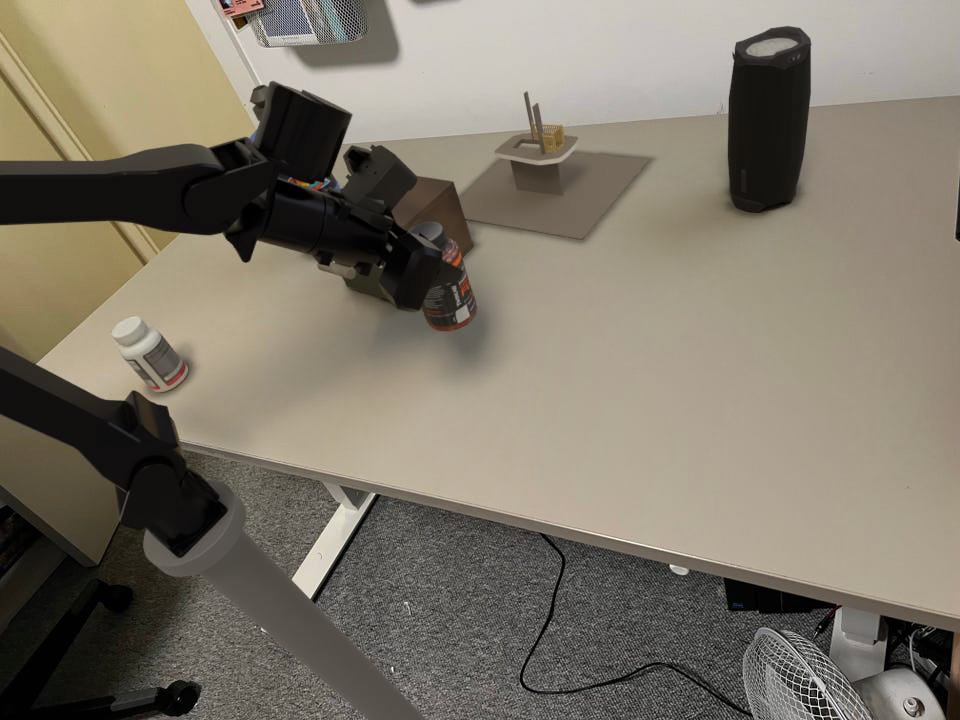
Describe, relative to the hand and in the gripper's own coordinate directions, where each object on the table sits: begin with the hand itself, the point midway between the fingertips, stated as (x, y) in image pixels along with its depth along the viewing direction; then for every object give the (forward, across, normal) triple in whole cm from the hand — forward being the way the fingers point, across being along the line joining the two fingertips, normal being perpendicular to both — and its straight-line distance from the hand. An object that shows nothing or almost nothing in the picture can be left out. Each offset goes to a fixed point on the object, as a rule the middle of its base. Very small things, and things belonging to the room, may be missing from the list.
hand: (447, 263), depth 67 cm
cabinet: (+10, +22, +7) cm, 25 cm away
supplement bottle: (+4, 0, +6) cm, 7 cm away
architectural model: (+27, +23, -10) cm, 37 cm away
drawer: (+7, +20, +9) cm, 23 cm away
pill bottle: (-15, +27, +33) cm, 45 cm away
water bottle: (+6, +40, +12) cm, 42 cm away
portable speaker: (+39, -4, -22) cm, 44 cm away
